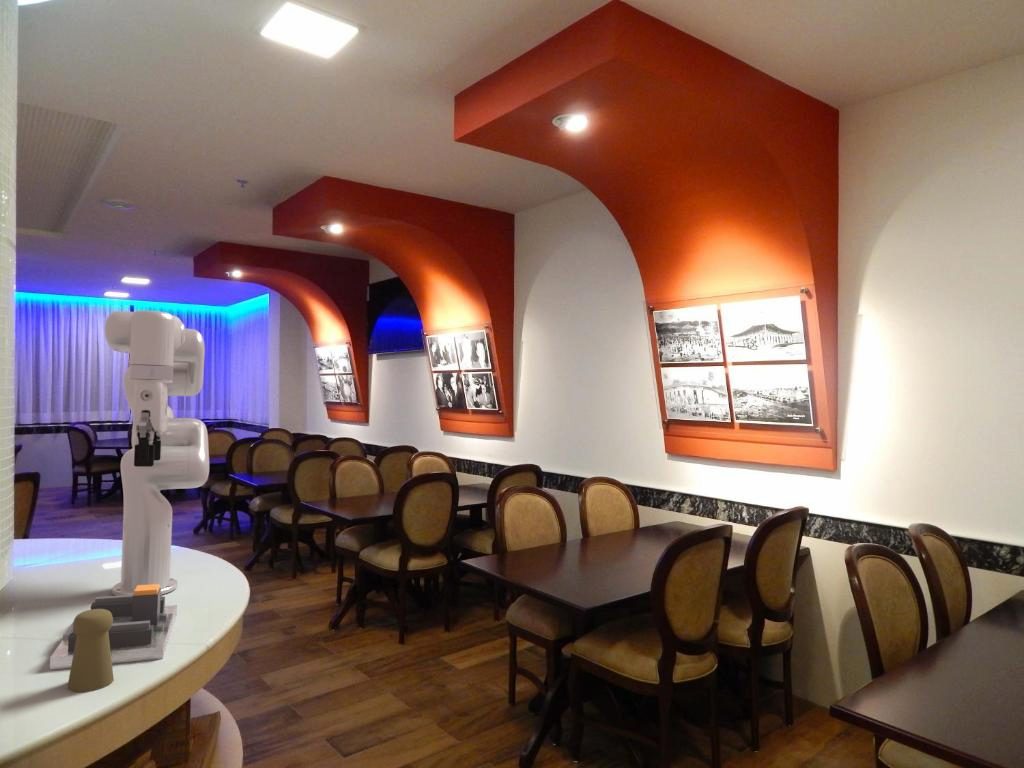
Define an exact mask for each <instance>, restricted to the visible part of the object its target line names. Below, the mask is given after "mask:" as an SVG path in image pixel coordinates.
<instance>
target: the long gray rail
mask: <svg viewBox="0 0 1024 768" xmlns="http://www.w3.org/2000/svg"><path fill="white" fill-rule="evenodd" d="M132 598H133V595H119V596H115V595H107V596H106V595H105V596H96V597H95V598H94V601H93V602H92V603H91V605H90V610H92V609H106V610H108V611H110V612H111V614H112V617H118V616H131V615H132ZM165 606H166V596H163V594H162V593H161V597H160V613H163V612H164V609H165ZM153 630H154V625H150V620H149V621H137V622H125V623H113V624H112V627H111V628H110V630H109V631H108V633H109V642H110V648H113V647H123V646H134V645H145V644H151V643H152V640H153ZM76 638H77V635H76V634H75V633H74V630H73V632H72V633H71V634H70V636H69V638H68V652H70V651H74V649H75V644H76Z"/></svg>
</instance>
